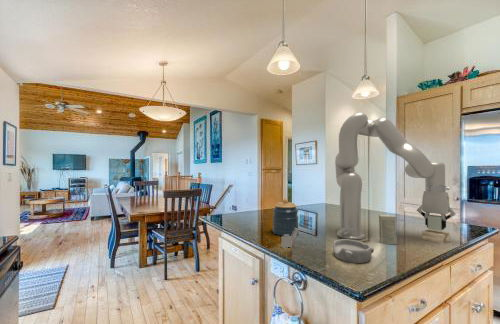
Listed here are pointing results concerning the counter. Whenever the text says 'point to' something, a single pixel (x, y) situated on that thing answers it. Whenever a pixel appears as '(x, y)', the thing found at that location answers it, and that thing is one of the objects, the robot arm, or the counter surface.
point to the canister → (285, 218)
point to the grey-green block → (435, 222)
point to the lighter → (288, 239)
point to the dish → (352, 250)
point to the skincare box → (387, 229)
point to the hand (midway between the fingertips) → (435, 227)
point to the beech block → (436, 236)
